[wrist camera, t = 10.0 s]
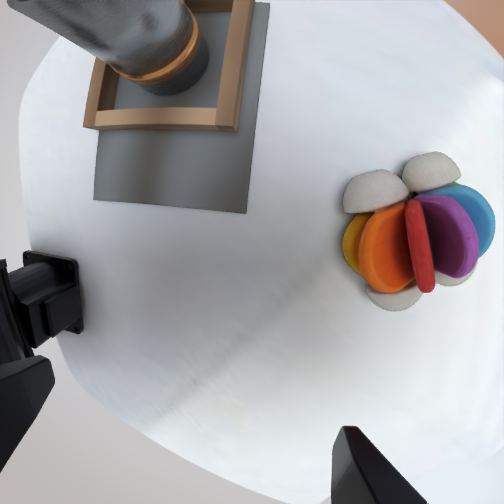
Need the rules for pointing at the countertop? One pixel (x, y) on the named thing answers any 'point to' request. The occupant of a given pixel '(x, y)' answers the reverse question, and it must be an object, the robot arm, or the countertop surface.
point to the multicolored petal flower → (414, 230)
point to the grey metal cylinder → (131, 37)
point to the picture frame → (185, 120)
